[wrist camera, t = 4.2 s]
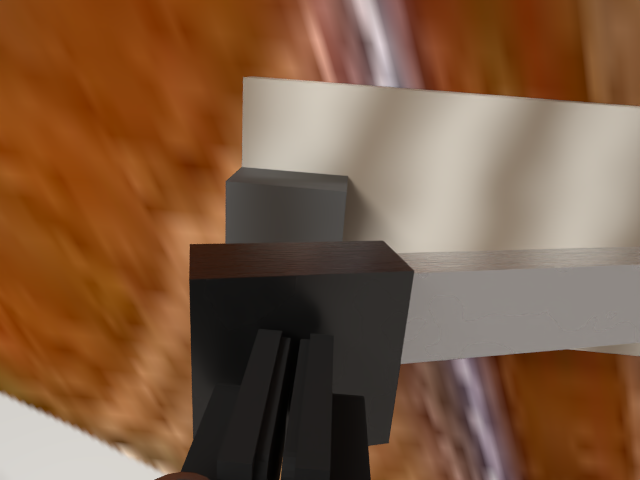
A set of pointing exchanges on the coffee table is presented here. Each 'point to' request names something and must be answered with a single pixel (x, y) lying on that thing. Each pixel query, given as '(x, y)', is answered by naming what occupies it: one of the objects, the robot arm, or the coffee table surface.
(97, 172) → the coffee table surface
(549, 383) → the coffee table surface
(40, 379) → the coffee table surface
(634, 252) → the lever
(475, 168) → the base
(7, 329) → the coffee table surface
